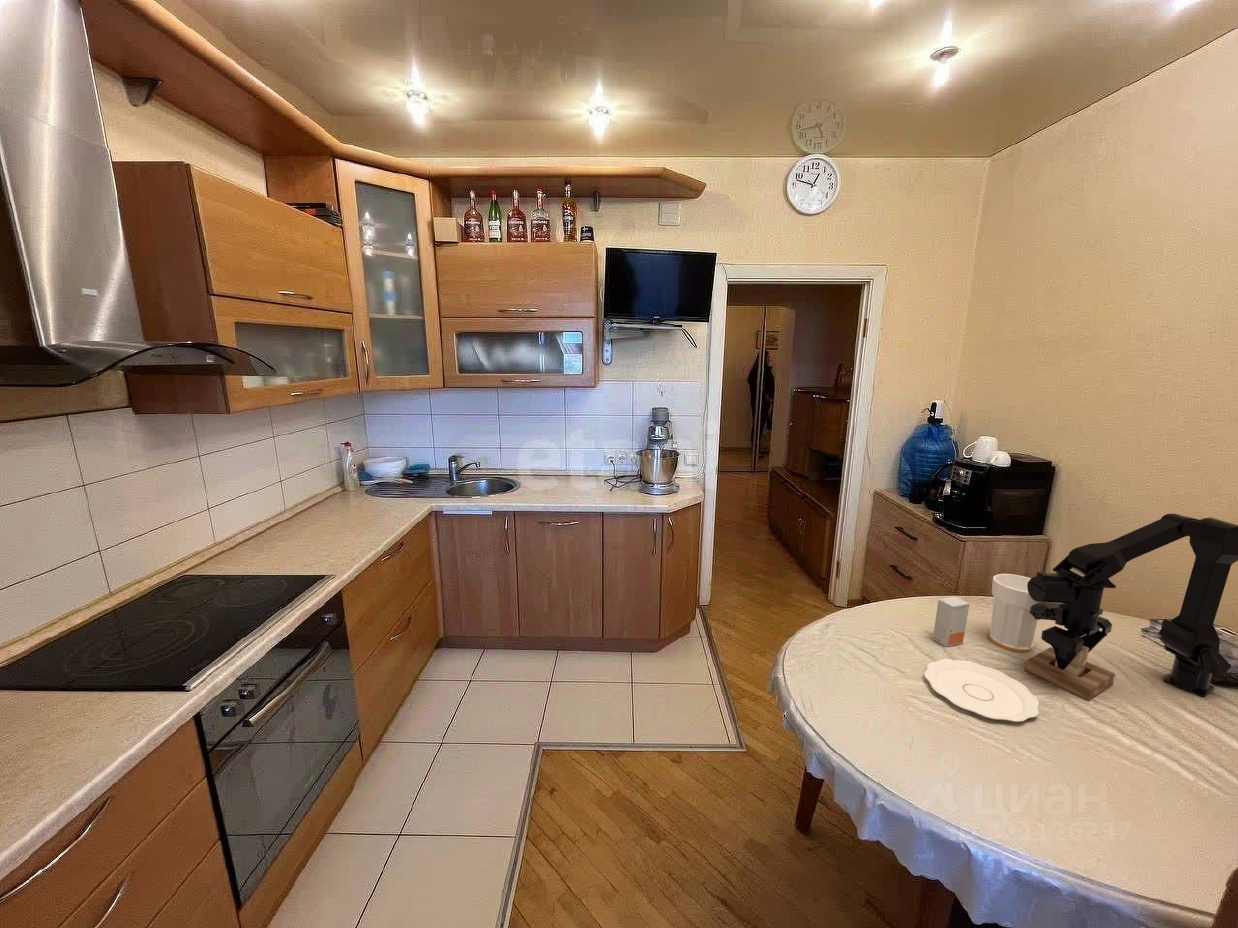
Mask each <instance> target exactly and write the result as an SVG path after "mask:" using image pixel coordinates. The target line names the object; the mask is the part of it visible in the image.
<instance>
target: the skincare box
mask: <svg viewBox="0 0 1238 928" xmlns="http://www.w3.org/2000/svg"><path fill="white" fill-rule="evenodd" d="M969 609H970V603H969V602H968V601H965V600H963V599H961V598H959V597H958V596H950V597H945V598H939V599H938V600H937V608H936V614H935V621H934V627H933V632H932V633H933V634H932V640H934V641H935V642H937V643H938V644H940V645H942V646H943V647H945V648H948V647H953V646H956V645H962V644H963V643H964V638H965V632H966V627H967V622H968V621H967V620H968V615H969Z"/></svg>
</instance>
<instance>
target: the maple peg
mask: <svg viewBox="0 0 1238 928" xmlns="http://www.w3.org/2000/svg"><path fill="white" fill-rule="evenodd" d="M1081 649H1082V651H1081V652H1080V653H1079V654H1078V655H1077V656H1076V657H1075V658H1074V660H1073V661H1072V662H1071V663H1070V664H1069V665H1068V666H1067V667H1066V668H1065V669H1064V671H1066V672H1068V673H1070V674H1073V675H1075V676H1077V677H1079V678H1081V677H1082V676H1083V675H1084V670H1085V665H1086V662H1087V660H1088V655H1089V653H1088V651H1089V648H1088V647H1085V646H1082V648H1081ZM1055 667H1057V668H1058V666H1057V661H1056V662H1055ZM1059 669H1060V668H1059ZM1061 670H1062V669H1061Z"/></svg>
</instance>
